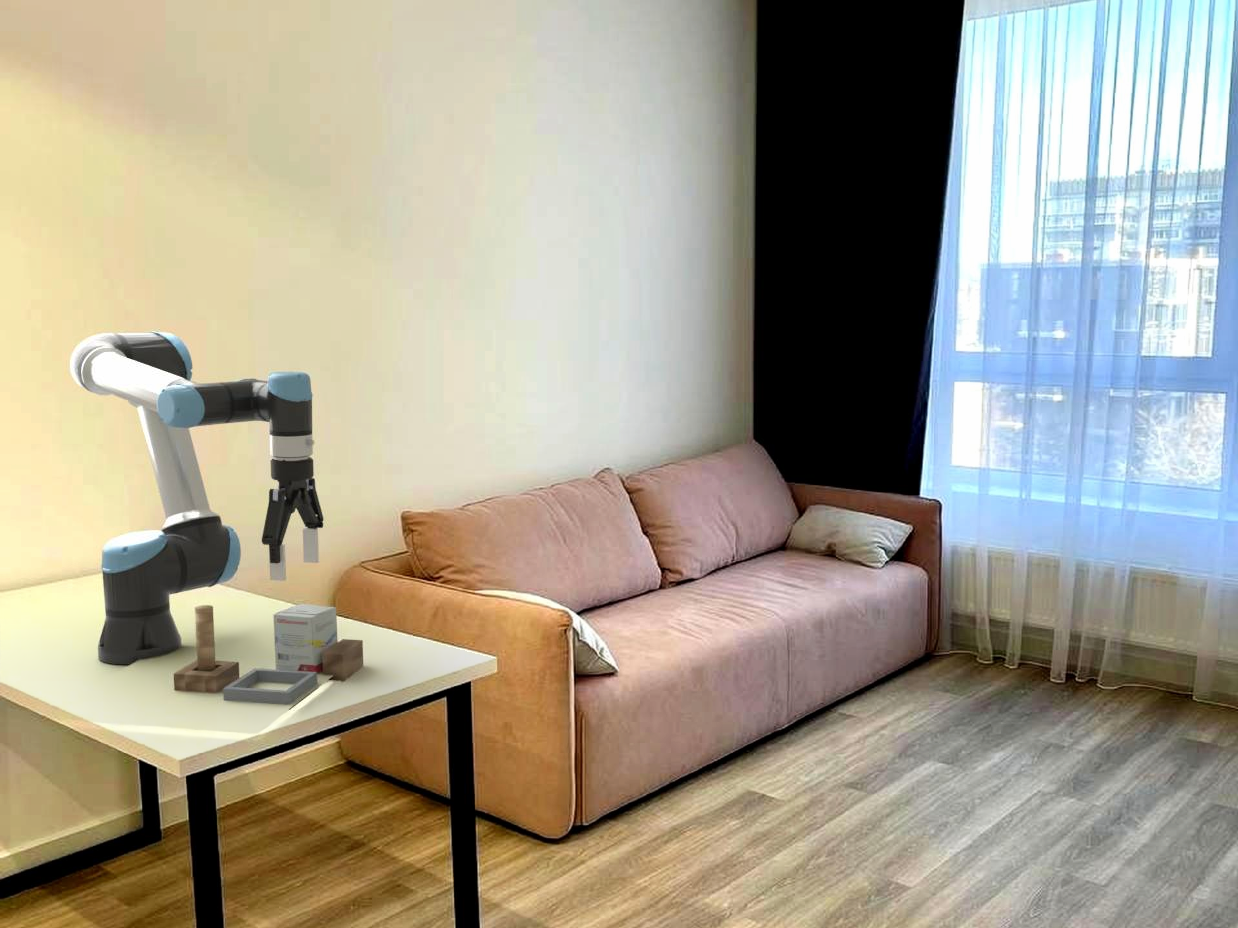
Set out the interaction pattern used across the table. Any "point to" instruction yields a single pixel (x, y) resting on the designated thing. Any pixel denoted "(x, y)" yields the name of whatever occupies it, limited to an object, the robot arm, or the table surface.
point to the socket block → (206, 677)
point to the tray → (243, 693)
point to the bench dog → (343, 659)
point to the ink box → (304, 637)
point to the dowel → (205, 638)
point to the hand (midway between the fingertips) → (295, 570)
